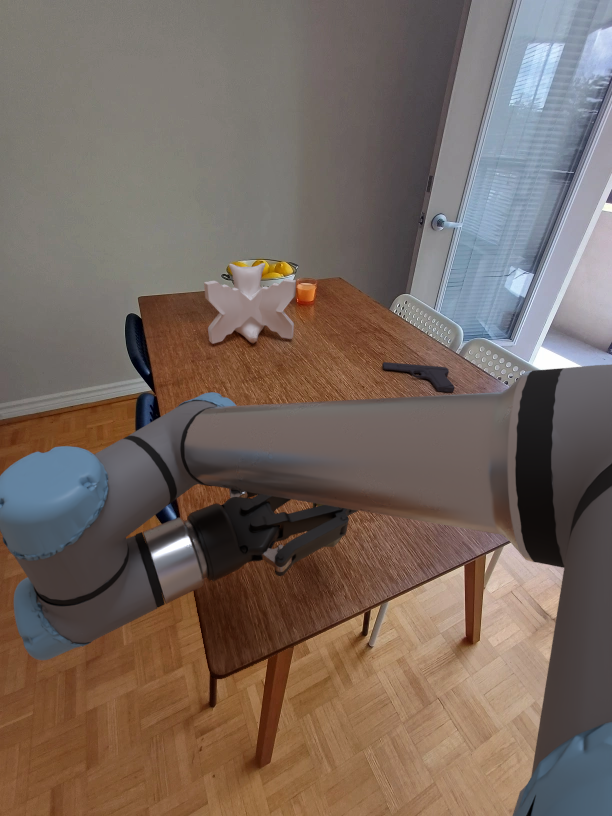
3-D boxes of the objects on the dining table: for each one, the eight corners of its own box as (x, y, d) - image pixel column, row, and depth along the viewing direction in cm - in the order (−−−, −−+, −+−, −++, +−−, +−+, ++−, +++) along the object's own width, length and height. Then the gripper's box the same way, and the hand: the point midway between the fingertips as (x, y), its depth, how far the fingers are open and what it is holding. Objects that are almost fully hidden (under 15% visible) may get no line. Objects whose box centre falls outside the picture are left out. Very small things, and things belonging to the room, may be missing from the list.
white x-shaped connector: (280, 317, 135) (282, 252, 123) (295, 345, 119) (299, 274, 107) (205, 321, 129) (199, 253, 117) (210, 351, 113) (204, 276, 100)
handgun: (454, 394, 102) (445, 371, 111) (457, 387, 100) (447, 364, 110) (385, 388, 102) (381, 365, 112) (386, 381, 101) (382, 358, 111)
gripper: (176, 515, 50) (328, 456, 61) (229, 639, 39) (406, 539, 49) (167, 473, 46) (333, 417, 56) (224, 598, 34) (420, 498, 45)
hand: (367, 474), depth 53 cm, fingers closed on grenade, 4 cm apart
